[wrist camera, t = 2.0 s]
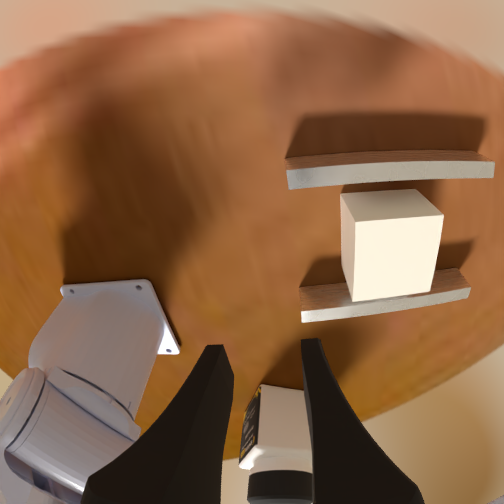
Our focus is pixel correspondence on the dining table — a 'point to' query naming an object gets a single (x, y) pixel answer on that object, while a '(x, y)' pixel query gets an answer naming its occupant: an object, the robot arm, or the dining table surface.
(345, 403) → the robot arm
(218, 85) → the dining table surface
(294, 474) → the medicine bottle
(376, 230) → the block
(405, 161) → the channel
